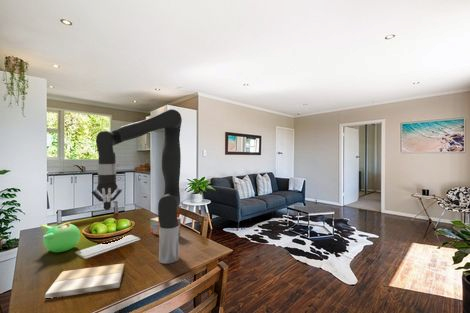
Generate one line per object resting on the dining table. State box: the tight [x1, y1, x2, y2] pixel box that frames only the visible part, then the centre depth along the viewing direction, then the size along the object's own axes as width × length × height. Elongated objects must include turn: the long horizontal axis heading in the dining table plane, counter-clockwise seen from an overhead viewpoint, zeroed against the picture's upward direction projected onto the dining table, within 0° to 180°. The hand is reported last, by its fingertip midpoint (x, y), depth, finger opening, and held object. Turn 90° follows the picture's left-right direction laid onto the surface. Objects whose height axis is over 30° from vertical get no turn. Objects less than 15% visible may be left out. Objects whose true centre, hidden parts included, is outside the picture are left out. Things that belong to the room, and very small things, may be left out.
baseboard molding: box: [75, 234, 141, 260], centre depth 127 cm, size 31×3×12 cm
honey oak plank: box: [54, 263, 125, 282], centre depth 97 cm, size 24×8×2 cm, turn 110°
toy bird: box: [39, 222, 81, 253], centre depth 121 cm, size 18×17×15 cm
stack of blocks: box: [149, 216, 182, 238], centre depth 147 cm, size 21×6×12 cm, turn 61°
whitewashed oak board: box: [44, 272, 123, 299], centre depth 89 cm, size 24×8×2 cm, turn 110°
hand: (107, 209), depth 107 cm, fingers closed
